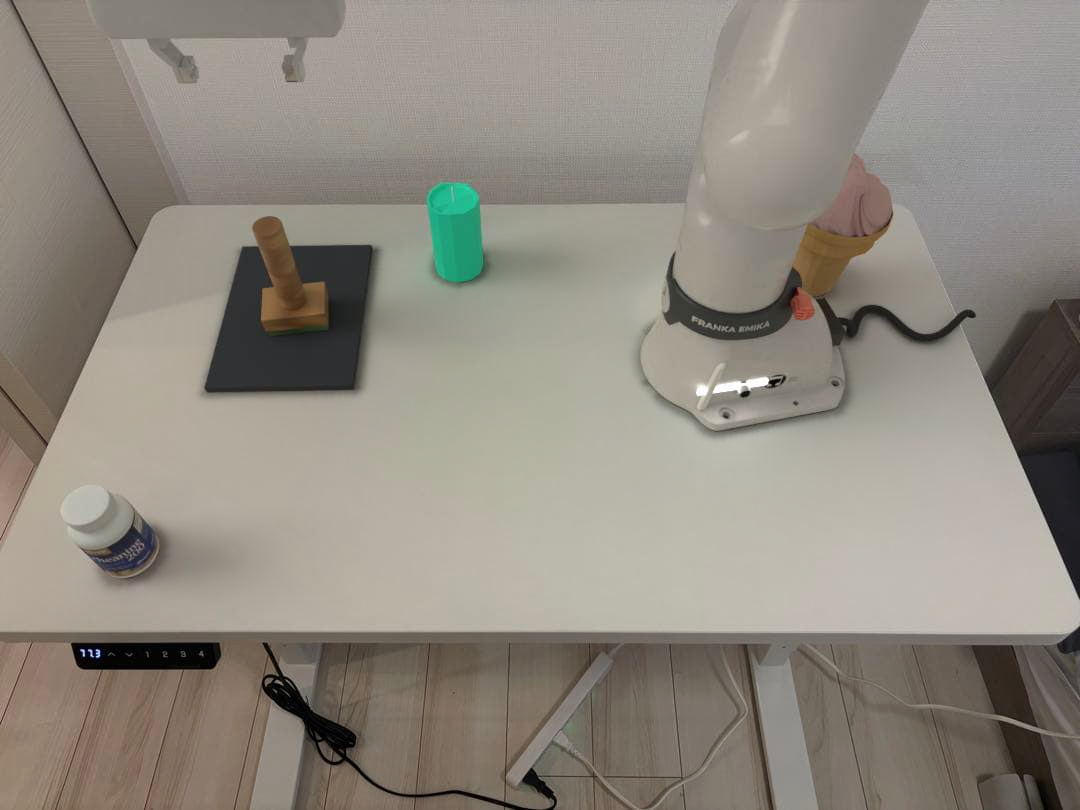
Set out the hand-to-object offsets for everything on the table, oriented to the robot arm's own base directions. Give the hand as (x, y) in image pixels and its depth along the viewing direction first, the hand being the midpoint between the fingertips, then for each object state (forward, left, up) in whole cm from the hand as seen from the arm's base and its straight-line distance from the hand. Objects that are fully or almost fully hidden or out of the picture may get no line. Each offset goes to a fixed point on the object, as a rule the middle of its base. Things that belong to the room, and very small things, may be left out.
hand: (243, 79), depth 71 cm
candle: (-17, -6, -29) cm, 34 cm away
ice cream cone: (-60, -2, -29) cm, 67 cm away
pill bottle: (+13, +32, -29) cm, 45 cm away
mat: (+2, +2, -29) cm, 29 cm away
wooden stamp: (+1, +3, -28) cm, 28 cm away
